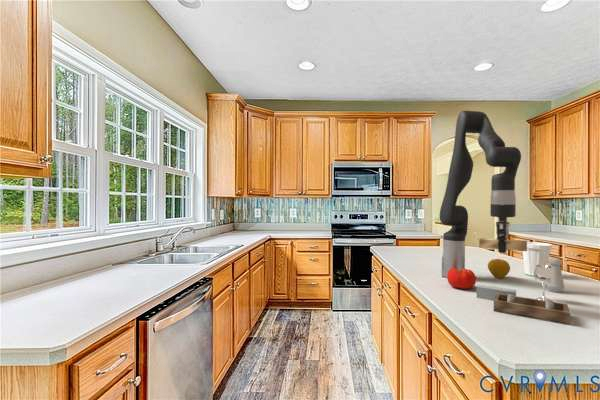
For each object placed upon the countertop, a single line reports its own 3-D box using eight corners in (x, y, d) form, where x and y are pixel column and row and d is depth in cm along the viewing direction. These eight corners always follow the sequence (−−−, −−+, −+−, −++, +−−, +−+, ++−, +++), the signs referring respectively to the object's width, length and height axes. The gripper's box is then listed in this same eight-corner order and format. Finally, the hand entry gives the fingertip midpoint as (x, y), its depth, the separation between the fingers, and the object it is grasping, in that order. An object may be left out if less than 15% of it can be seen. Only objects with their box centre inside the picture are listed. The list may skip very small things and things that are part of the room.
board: (479, 247, 116) (479, 239, 116) (481, 246, 120) (481, 238, 120) (526, 251, 108) (526, 242, 108) (526, 249, 112) (527, 240, 112)
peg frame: (493, 311, 104) (493, 297, 104) (496, 303, 113) (496, 290, 112) (570, 325, 93) (570, 309, 93) (566, 315, 101) (567, 300, 101)
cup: (558, 278, 149) (559, 245, 149) (531, 278, 149) (532, 245, 149) (539, 272, 162) (539, 241, 161) (514, 272, 162) (514, 241, 162)
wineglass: (549, 297, 119) (550, 265, 119) (556, 302, 114) (556, 268, 114) (531, 296, 121) (531, 264, 121) (537, 300, 116) (537, 267, 116)
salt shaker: (567, 293, 125) (568, 260, 125) (550, 292, 126) (551, 259, 126) (558, 289, 131) (559, 257, 131) (542, 288, 132) (543, 256, 132)
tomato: (447, 289, 129) (448, 270, 129) (446, 282, 140) (446, 265, 140) (477, 292, 126) (478, 273, 125) (474, 285, 136) (474, 267, 136)
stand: (476, 297, 119) (476, 286, 119) (477, 294, 122) (478, 284, 122) (515, 304, 112) (515, 292, 112) (516, 301, 115) (516, 289, 115)
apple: (488, 274, 156) (488, 255, 156) (510, 277, 151) (510, 258, 151) (486, 278, 149) (486, 258, 149) (509, 281, 143) (509, 261, 143)
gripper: (492, 203, 122) (492, 248, 122) (488, 203, 111) (488, 253, 110) (516, 203, 118) (516, 250, 118) (514, 203, 106) (514, 255, 106)
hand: (502, 251), depth 114 cm, fingers closed on board, 5 cm apart
